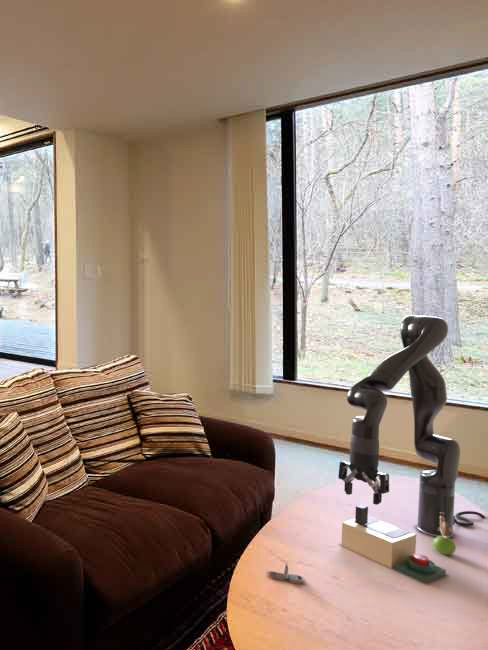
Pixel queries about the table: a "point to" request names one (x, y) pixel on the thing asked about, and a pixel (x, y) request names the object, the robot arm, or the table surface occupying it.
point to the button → (420, 559)
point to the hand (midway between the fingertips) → (362, 498)
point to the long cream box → (378, 541)
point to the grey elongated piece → (290, 576)
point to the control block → (420, 570)
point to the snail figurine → (444, 539)
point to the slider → (361, 514)
